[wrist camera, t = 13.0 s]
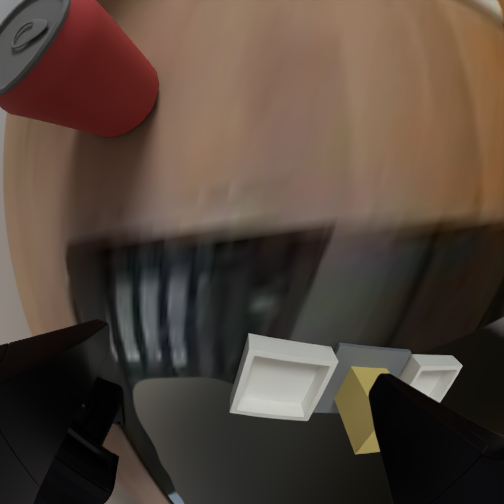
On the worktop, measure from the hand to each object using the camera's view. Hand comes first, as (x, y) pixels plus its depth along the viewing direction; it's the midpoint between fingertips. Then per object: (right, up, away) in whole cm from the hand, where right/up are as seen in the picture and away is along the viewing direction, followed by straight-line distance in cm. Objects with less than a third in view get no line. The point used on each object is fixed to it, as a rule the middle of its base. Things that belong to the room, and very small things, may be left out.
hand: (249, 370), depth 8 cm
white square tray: (+18, -10, +15) cm, 26 cm away
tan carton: (+10, -9, +14) cm, 19 cm away
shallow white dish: (+2, -7, +14) cm, 16 cm away
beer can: (-10, +15, +9) cm, 20 cm away
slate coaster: (+10, -9, +15) cm, 20 cm away
